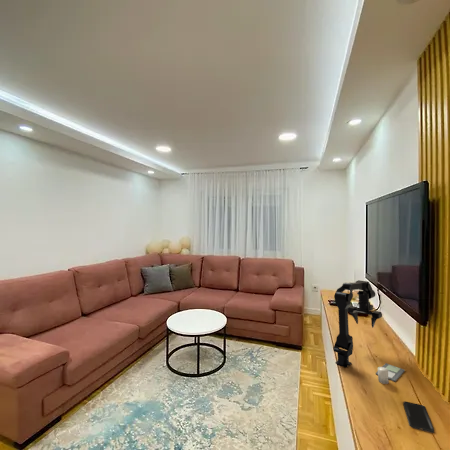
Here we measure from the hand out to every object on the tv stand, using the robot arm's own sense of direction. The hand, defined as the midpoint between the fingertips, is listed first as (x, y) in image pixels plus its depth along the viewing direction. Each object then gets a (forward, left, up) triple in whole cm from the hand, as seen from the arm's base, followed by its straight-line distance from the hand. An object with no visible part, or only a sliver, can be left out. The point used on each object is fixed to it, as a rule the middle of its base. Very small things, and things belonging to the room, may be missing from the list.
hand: (364, 325), depth 162 cm
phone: (-44, -38, -15) cm, 60 cm away
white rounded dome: (-29, -20, -14) cm, 38 cm away
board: (-18, -20, -14) cm, 30 cm away
